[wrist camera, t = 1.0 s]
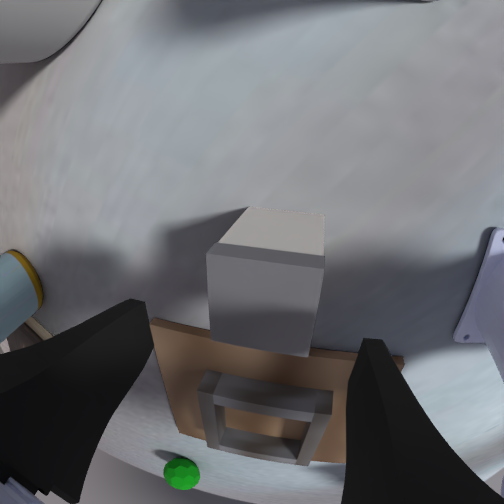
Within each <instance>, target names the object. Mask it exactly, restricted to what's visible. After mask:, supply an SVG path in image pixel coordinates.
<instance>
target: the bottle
mask: <svg viewBox="0 0 504 504" xmlns="http://www.w3.org/2000/svg"><path fill="white" fill-rule="evenodd" d="M42 299H43V291H42V286H41V283H40V280H39V277H38V275H37V274H36V272H35V269H34V268H33V267H32V265H31V263H30V262H29V261H28V260H27V259H26V258H25V256H23V255H22V254H20V253H18V252H15V251H8V252H6V253H4V254H2V255H1V256H0V343H1V342H3V341H4V340H5V339H6V338H7V337H8V336H9V335H10V334H11V333H12V332H14V331H15V330H16V329H17V328H18V327H19V326H20V325H21V324H22V323H24V322H25V321H26V320H27V319H28V318H29V317H31V316H32V315H33V314H34V313H35V312H36V311H37V310H38V309H39V308H40V307H41V305H42Z"/></svg>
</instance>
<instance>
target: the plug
mask: <svg viewBox="0 0 504 504" xmlns="http://www.w3.org/2000/svg"><path fill="white" fill-rule="evenodd" d="M324 223H325V215H320V214H312V213H303V212H294V211H285V210H276V209H266V208H256V207H248V208H247V209H246V210H245V212H244V213H243V214H242V215H241V216H240V217H239V218H238V220H237V221H236V222H235V223H234V224H233V225H232V226H231V228H230V229H229V230H228V231H227V232H226V233H225V235H224V236H223V237H222V238H221V239H220V240H219V242H218V243H217V242H215V243H214V245H213V246H212V247H211V248H210V249H209V250H208V252H207V253H206V268H207V287H208V304H209V319H210V333H211V341H216V342H220V343H225V344H230V345H235V346H241V347H246V348H251V349H257V350H262V351H268V352H274V353H281V354H287V355H294V356H300V357H308V355H309V350H310V345H311V340H312V336H313V331H314V325H315V320H316V315H317V310H318V304H319V299H320V293H321V287H322V281H323V275H324V267H325V256H323V254H324Z"/></svg>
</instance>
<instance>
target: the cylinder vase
mask: <svg viewBox="0 0 504 504" xmlns="http://www.w3.org/2000/svg"><path fill="white" fill-rule="evenodd" d="M100 2H101V0H0V64H7V63H32V62H37V61H40V60H43V59H45V58H47V57H49V56H51V55H52V54H54V53H55V52H57V51H58V50H59V49H61V48H62V47H63V46H64V45H65V44H67V43H68V42H69V41H70V40H71V39H72V38H73V37H74V36H75V35H76V34H77V32H78V31H79V30H80V29H81V28H82V27H83V25H84V24H85V23H86V22H87V20H88V19H89V18H90V16H91V15H92V14H93V12H94V11H95V9H96V8H97V6H98V5H99V3H100Z"/></svg>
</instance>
